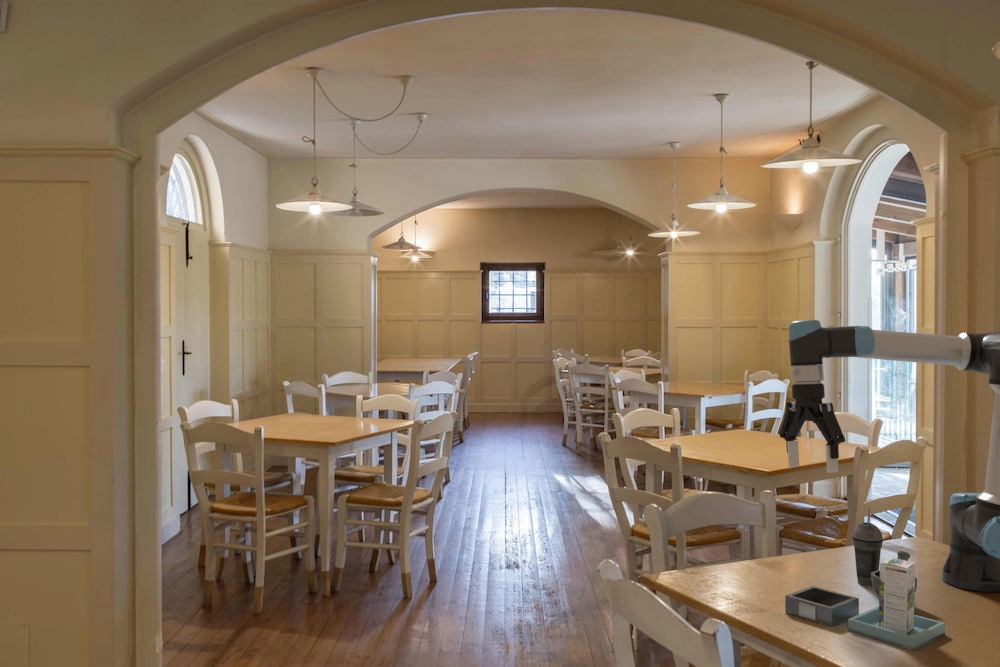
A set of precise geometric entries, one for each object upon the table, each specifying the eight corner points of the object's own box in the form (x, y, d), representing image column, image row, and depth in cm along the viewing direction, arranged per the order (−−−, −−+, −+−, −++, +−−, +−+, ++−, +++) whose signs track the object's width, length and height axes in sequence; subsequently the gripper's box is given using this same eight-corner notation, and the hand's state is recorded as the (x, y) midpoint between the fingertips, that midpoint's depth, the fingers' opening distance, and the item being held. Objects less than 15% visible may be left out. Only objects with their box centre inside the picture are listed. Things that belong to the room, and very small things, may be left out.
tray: (880, 616, 185) (880, 605, 185) (945, 634, 174) (945, 622, 174) (847, 630, 176) (848, 619, 176) (913, 650, 165) (913, 638, 165)
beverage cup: (877, 579, 212) (877, 502, 212) (887, 588, 205) (887, 509, 205) (848, 579, 213) (848, 502, 213) (857, 587, 206) (857, 508, 205)
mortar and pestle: (903, 614, 186) (903, 562, 186) (863, 604, 193) (863, 553, 193) (926, 604, 193) (926, 553, 193) (887, 594, 200) (887, 545, 200)
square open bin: (813, 602, 195) (813, 585, 195) (859, 615, 186) (859, 597, 186) (784, 613, 187) (784, 595, 187) (830, 627, 178) (830, 609, 178)
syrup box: (886, 622, 179) (886, 556, 179) (915, 629, 175) (915, 561, 175) (878, 630, 175) (878, 562, 175) (908, 636, 171) (908, 567, 171)
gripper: (762, 383, 212) (767, 465, 211) (831, 383, 188) (837, 476, 188) (786, 382, 214) (791, 463, 213) (857, 382, 191) (863, 473, 190)
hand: (812, 469), depth 200 cm, fingers open, 13 cm apart
